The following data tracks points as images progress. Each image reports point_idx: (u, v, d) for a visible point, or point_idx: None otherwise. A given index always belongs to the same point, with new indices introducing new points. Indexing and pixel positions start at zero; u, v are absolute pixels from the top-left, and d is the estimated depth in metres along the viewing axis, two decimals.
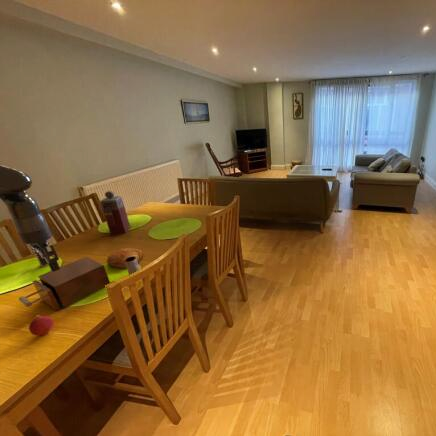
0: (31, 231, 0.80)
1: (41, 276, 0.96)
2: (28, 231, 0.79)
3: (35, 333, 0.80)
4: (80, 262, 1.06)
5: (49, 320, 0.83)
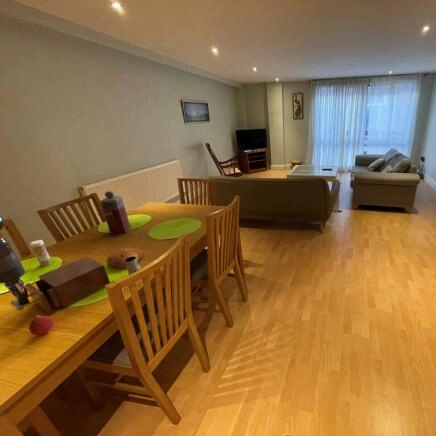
0: (2, 271, 0.80)
1: (41, 276, 0.96)
2: None
3: (35, 333, 0.80)
4: (80, 262, 1.06)
5: (49, 320, 0.83)
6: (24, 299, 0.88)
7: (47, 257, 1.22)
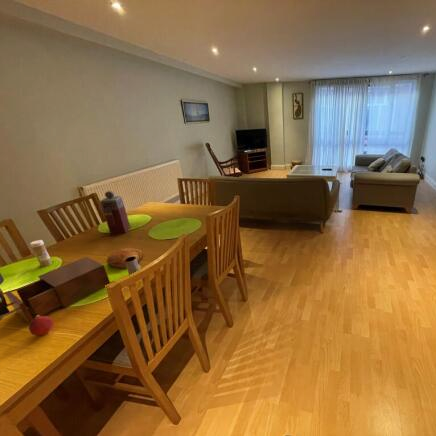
0: None
1: (41, 276, 0.96)
2: None
3: (35, 333, 0.80)
4: (80, 262, 1.06)
5: (49, 320, 0.83)
6: (3, 308, 0.84)
7: (47, 257, 1.22)
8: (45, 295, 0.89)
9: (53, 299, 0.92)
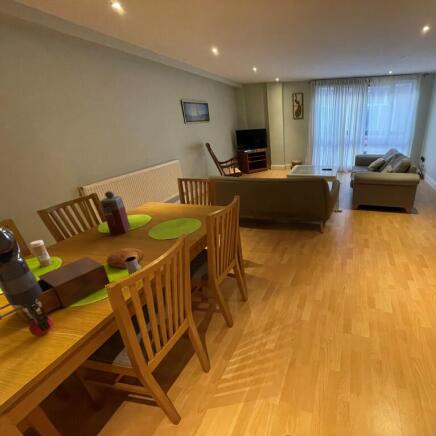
0: (18, 292, 0.73)
1: (41, 276, 0.96)
2: (15, 293, 0.73)
3: (35, 333, 0.80)
4: (80, 262, 1.06)
5: (49, 320, 0.83)
6: (44, 323, 0.79)
7: (47, 257, 1.22)
8: (45, 295, 0.89)
9: (53, 299, 0.92)
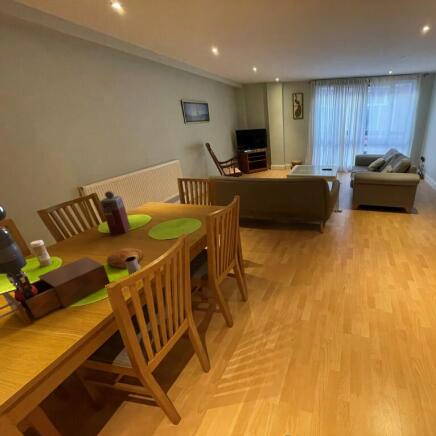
0: (4, 261, 0.80)
1: (41, 276, 0.96)
2: (1, 262, 0.80)
3: (19, 298, 0.86)
4: (80, 262, 1.06)
5: (36, 290, 0.90)
6: (28, 292, 0.87)
7: (47, 257, 1.22)
8: (43, 296, 0.89)
9: (51, 300, 0.91)
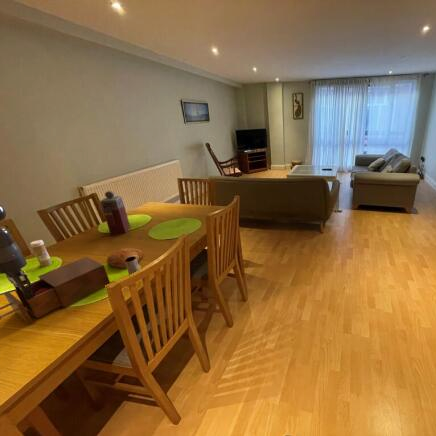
0: (4, 261, 0.80)
1: (41, 276, 0.96)
2: (1, 261, 0.80)
3: (41, 292, 0.92)
4: (80, 262, 1.06)
5: None
6: (29, 291, 0.86)
7: (47, 257, 1.22)
8: (44, 296, 0.89)
9: (52, 300, 0.92)
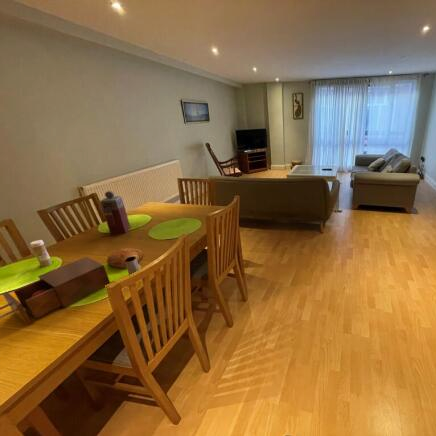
0: None
1: (41, 276, 0.96)
2: None
3: None
4: (80, 262, 1.06)
5: None
6: None
7: (47, 257, 1.22)
8: (43, 296, 0.89)
9: (51, 300, 0.91)
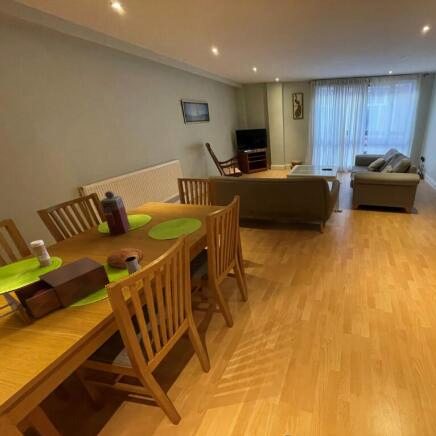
0: None
1: (41, 276, 0.96)
2: None
3: None
4: (80, 262, 1.06)
5: None
6: None
7: (47, 257, 1.22)
8: (43, 296, 0.89)
9: (51, 300, 0.91)
